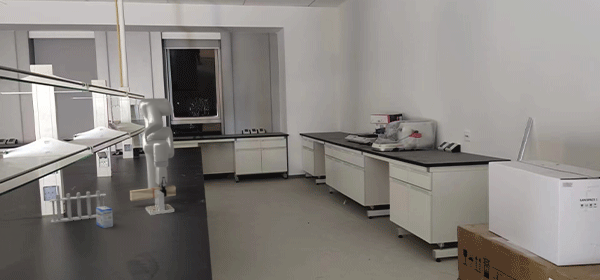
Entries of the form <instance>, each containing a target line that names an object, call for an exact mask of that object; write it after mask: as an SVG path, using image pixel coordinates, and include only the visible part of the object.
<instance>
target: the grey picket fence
mask: <svg viewBox="0 0 600 280" xmlns="http://www.w3.org/2000/svg"><path fill="white" fill-rule="evenodd" d="M85 192H86V193H85V194H86V195H81V192H76V196H71V193H66V194H65V197H61V195H60V194H56V195H55V198H51V199H49V203H51V204H52V205H51V206H52V219H51V220H50V223H51V224H56V223H64V222H65V223H66V222H71V221H72V222H73V220H74V221H79V220H80V221H81V219H82V220H88V219H89V218H90V219H96V214H92V202H91V200H92V199H91V198H96V207H101V206H105V197H106V196H107V194H106V193H101V190H96V191H95V194H91V192H90V191H85ZM101 198H102V199H101ZM81 199H86V211H87V215H83V214H82V203H81V202H82V201H81ZM72 200H76V208H77V210H76V211H77V216H73V217H72ZM101 200H102V203H101ZM62 201H66V211H67V217H63V218H62V208H61V207H62V206H61V202H62ZM55 202H56V213H57V218H56V213H55ZM90 219H89V220H90Z"/></svg>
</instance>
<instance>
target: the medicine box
mask: <svg viewBox="0 0 600 280" xmlns="http://www.w3.org/2000/svg"><path fill="white" fill-rule="evenodd" d="M95 215H96V218H95V219H96V226H98V227H99V228H102V229H107V228H112V227H113V226H114V220H113V219H114V218H113V208H111V207H109V206H106V205H104V206H103V205H101V207H97V206H96V207H95Z"/></svg>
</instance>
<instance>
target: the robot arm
mask: <svg viewBox="0 0 600 280" xmlns="http://www.w3.org/2000/svg"><path fill="white" fill-rule="evenodd" d="M138 106H139V111H140V113H141V116H142V119H143V121H144V130H143V133H142V134H141V143H142V144H141V145H142V151H143V152H144V155H145V161H146V173H147V175H146V176H147V189H148V188H156V187H161V190H160V191H161V192H162V193H164V198H166V196H167V194H166V186H167V184H168V170H167V169H168V168H167V167H169V159H172V158H173V157H174V155H175V146H174V145H175V144H174V135H173V131H172V128H171V127H170V126H164V120H163V117H169V116H171V115H172V113H173V111H172V109H173V108H172V105H171V102H170V101H169V99H168V98H166V97H165V98H162V97H161V98H160V97H159V98H156V97H155V98H154V97H153V98H152V97H151V98H150V97H149V98H142V99H141V100H139V105H138ZM167 197H168V196H167Z"/></svg>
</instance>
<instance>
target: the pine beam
mask: <svg viewBox="0 0 600 280" xmlns="http://www.w3.org/2000/svg"><path fill="white" fill-rule="evenodd" d="M176 189H177V187H176V185H166V194H167V196H166V197H173V196H176V195H177V192H176ZM154 190H161V187H156V188H148V187H147V188H142V189H133V190H129V199H130V201H131V202H137V201H143V200H151V199H155V194H154ZM166 197H165V198H166Z"/></svg>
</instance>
